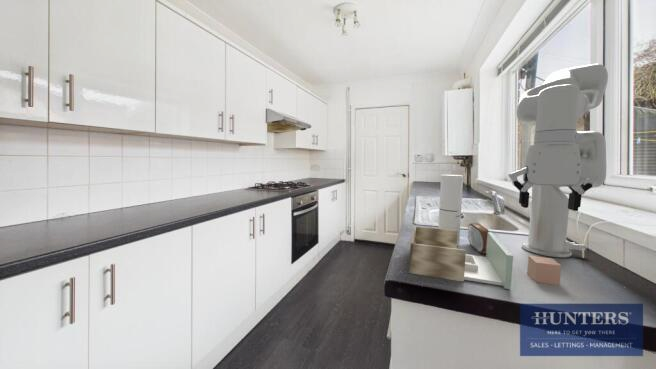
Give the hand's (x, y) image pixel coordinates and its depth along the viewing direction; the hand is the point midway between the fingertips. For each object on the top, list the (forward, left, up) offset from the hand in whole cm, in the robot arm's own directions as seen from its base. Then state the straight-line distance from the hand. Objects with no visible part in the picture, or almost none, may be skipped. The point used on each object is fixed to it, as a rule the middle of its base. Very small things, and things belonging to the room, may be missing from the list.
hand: (547, 208), depth 63 cm
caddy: (+25, 0, -18) cm, 31 cm away
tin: (+11, -19, -19) cm, 29 cm away
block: (0, 0, -18) cm, 18 cm away
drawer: (+16, 0, -18) cm, 24 cm away
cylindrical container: (+20, -22, -18) cm, 35 cm away
